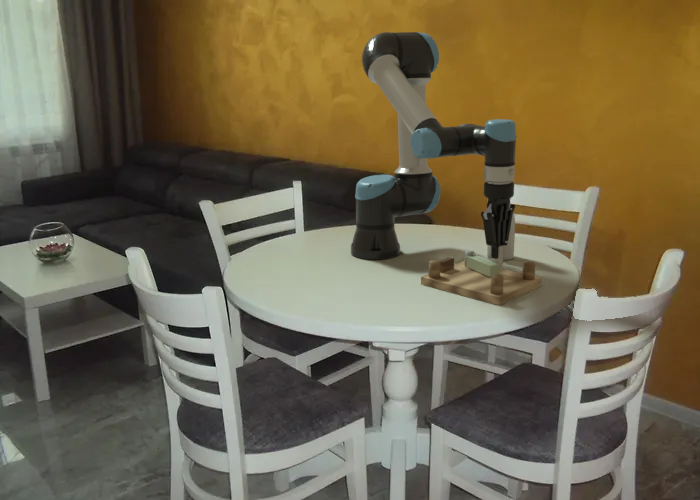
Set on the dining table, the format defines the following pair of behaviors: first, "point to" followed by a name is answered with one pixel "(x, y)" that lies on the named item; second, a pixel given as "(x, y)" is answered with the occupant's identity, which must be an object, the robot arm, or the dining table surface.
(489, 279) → the stool board
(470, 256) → the rail
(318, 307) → the dining table surface
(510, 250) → the milk bottle
